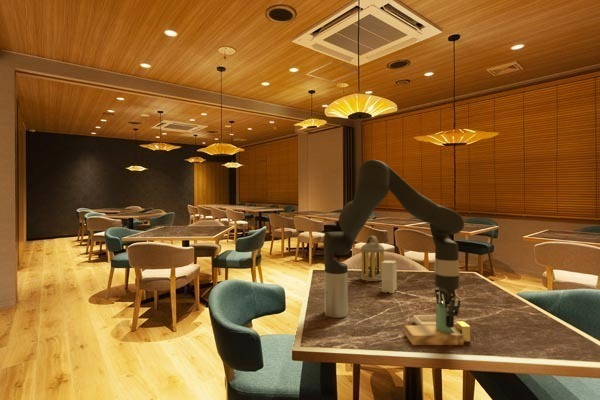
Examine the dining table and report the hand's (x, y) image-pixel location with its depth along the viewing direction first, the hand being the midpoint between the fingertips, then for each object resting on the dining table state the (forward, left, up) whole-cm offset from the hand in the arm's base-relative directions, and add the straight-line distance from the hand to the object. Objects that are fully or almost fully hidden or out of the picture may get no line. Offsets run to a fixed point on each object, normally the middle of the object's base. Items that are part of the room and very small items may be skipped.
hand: (447, 324), depth 106 cm
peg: (-1, 0, -5) cm, 5 cm away
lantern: (-7, +79, -5) cm, 80 cm away
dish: (-1, +10, -5) cm, 12 cm away
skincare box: (-4, +55, -5) cm, 56 cm away
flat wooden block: (-5, 0, -5) cm, 7 cm away
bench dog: (+5, 0, -5) cm, 7 cm away
